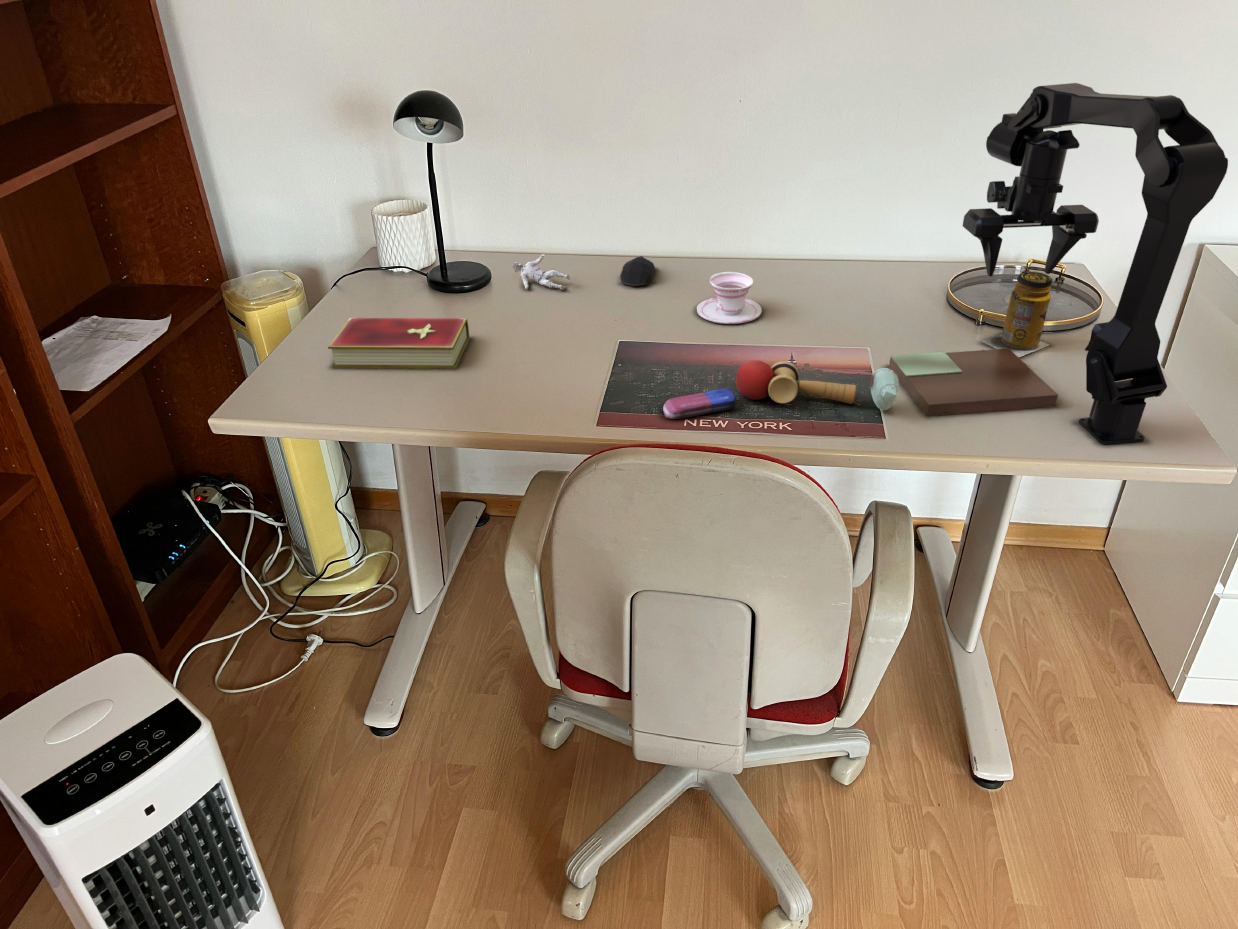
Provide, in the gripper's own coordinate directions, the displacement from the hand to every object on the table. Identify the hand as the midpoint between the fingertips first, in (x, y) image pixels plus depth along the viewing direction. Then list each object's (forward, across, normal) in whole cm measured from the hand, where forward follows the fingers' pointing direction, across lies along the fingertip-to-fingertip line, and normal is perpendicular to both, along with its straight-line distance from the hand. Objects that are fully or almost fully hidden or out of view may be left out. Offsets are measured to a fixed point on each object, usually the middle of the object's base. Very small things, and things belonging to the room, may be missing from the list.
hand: (1018, 274), depth 144 cm
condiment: (+14, -4, -4) cm, 15 cm away
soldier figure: (+14, +77, -39) cm, 88 cm away
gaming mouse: (+14, +57, -42) cm, 72 cm away
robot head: (+14, +25, +16) cm, 33 cm away
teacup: (+14, +42, -22) cm, 50 cm away
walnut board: (+14, +9, +10) cm, 20 cm away
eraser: (+14, +52, +14) cm, 56 cm away
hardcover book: (+14, +100, -10) cm, 102 cm away
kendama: (+14, +37, +12) cm, 41 cm away
